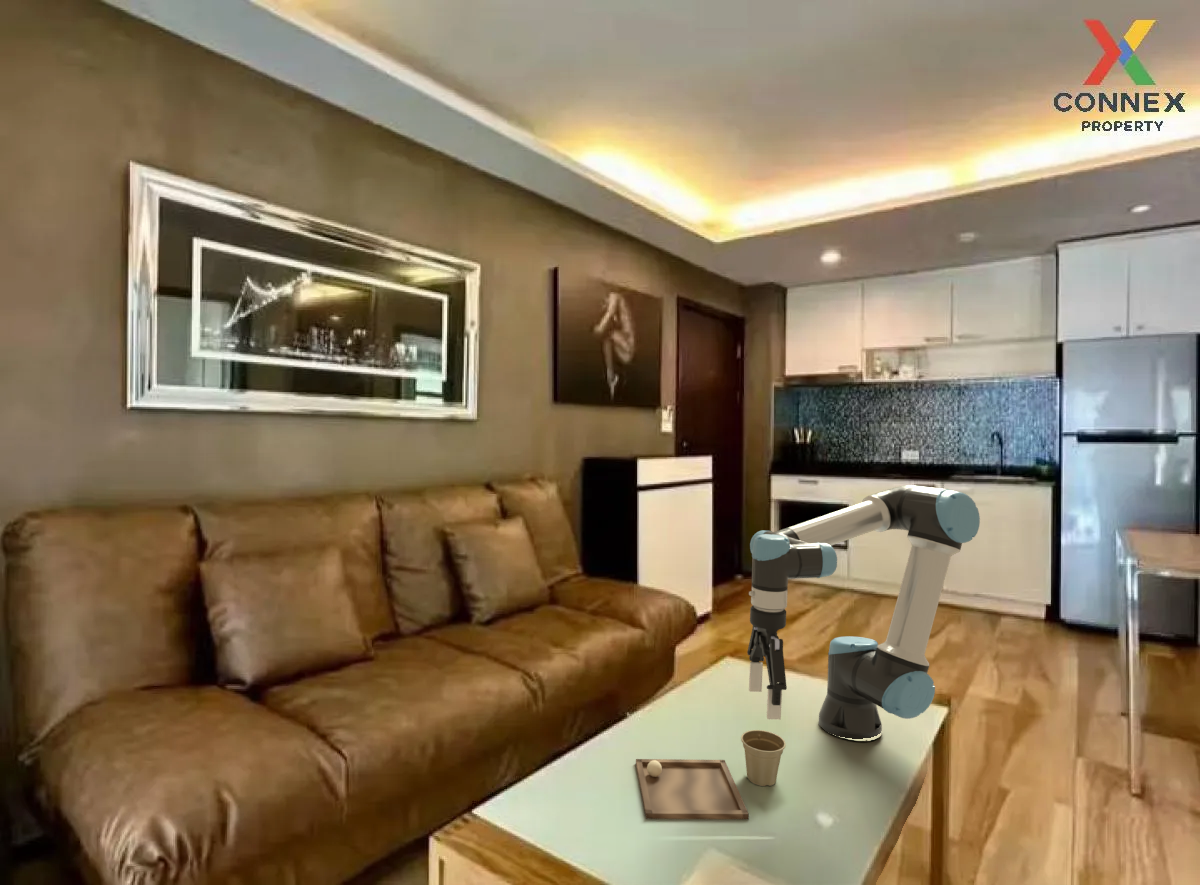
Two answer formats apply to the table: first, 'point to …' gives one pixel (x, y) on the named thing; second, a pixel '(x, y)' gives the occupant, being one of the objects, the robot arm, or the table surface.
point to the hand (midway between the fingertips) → (764, 704)
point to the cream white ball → (654, 768)
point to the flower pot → (762, 756)
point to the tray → (690, 790)
